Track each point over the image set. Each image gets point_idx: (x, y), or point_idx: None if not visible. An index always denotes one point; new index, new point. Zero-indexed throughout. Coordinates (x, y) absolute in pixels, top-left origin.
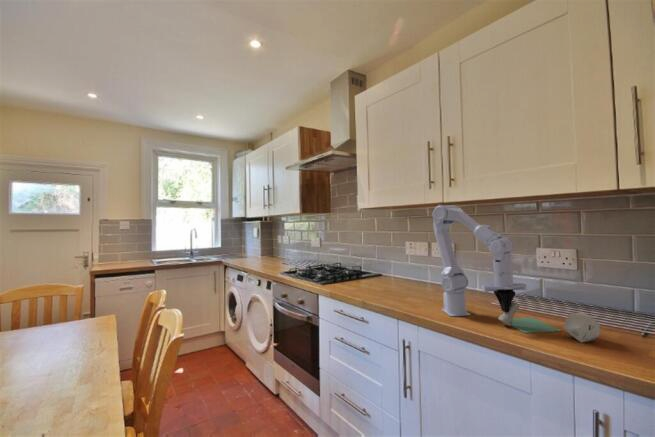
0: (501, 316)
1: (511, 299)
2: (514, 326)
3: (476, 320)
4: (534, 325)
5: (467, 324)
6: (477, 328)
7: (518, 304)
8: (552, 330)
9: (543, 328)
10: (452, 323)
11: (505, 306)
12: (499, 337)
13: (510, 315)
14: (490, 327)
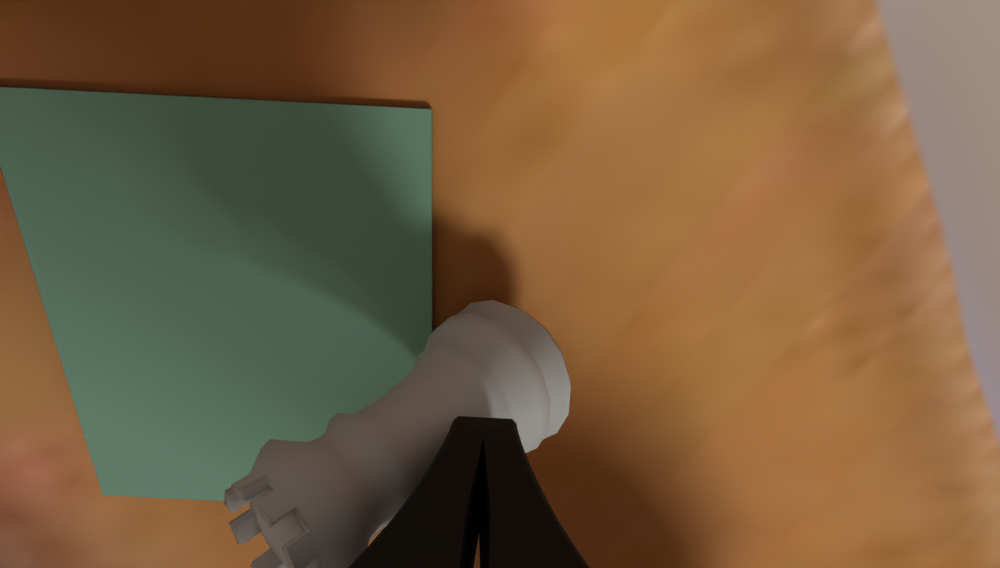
0: (549, 405)
1: (380, 564)
2: (420, 310)
3: (659, 530)
4: (194, 298)
5: (822, 458)
6: (816, 346)
7: (244, 496)
8: (73, 117)
9: (143, 197)
10: (936, 505)
11: (520, 470)
12: (804, 40)
13: (446, 378)
14: (666, 346)
